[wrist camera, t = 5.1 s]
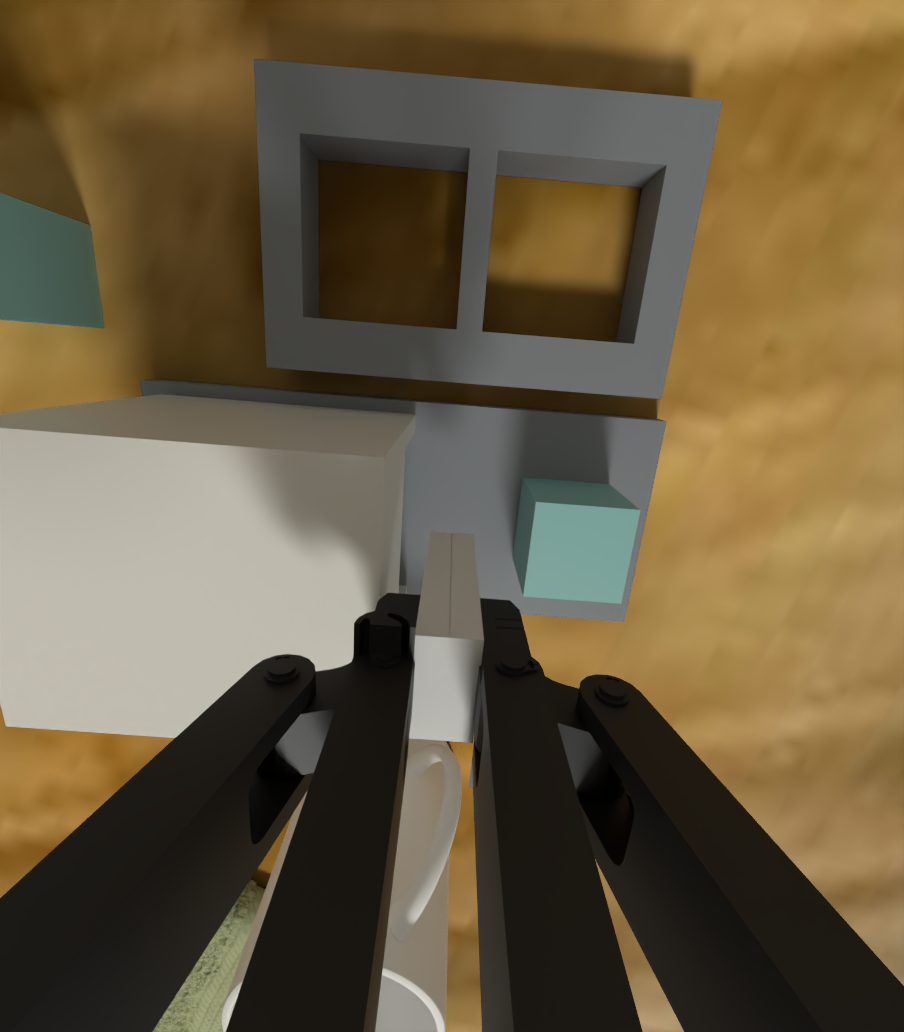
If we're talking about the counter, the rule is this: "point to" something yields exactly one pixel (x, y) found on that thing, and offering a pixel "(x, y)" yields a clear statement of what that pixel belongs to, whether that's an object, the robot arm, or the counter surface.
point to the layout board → (511, 493)
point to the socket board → (477, 214)
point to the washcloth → (213, 971)
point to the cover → (185, 551)
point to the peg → (46, 267)
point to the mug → (403, 896)
